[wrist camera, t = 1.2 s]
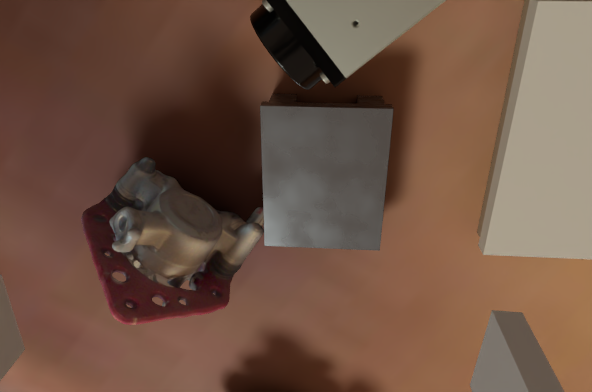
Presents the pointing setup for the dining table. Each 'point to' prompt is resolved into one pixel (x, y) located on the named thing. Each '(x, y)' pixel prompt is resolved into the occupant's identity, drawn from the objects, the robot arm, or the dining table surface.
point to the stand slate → (324, 171)
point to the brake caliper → (165, 247)
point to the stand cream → (544, 139)
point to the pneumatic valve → (332, 33)
